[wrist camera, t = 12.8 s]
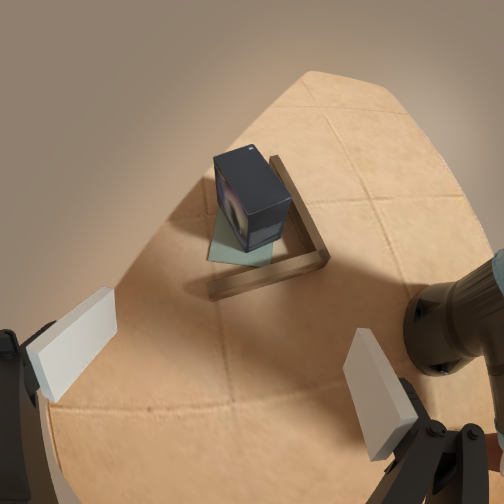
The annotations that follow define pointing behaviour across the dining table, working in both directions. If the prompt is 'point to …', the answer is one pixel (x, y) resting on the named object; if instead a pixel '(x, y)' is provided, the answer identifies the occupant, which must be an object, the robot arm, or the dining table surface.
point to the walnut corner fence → (288, 267)
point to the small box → (251, 197)
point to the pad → (235, 247)
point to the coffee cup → (494, 453)
